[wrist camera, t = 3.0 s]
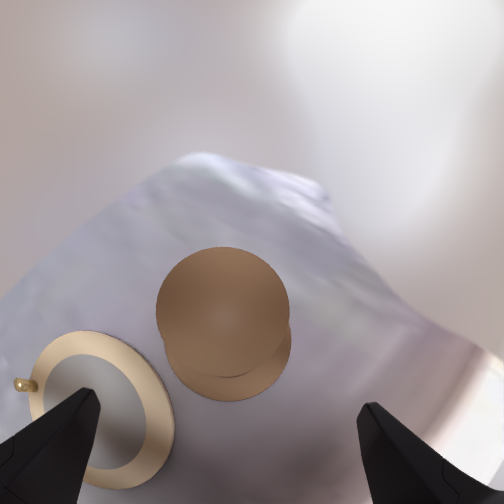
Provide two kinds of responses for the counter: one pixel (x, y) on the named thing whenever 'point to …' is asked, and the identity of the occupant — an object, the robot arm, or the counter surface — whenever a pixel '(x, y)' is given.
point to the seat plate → (108, 404)
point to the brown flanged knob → (224, 323)
